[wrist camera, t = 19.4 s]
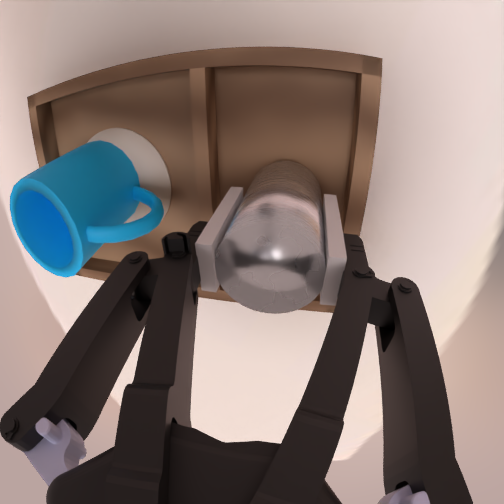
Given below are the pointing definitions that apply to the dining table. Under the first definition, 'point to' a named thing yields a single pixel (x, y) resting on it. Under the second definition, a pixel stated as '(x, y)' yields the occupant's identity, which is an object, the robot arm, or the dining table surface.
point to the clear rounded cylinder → (275, 242)
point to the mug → (80, 206)
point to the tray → (219, 131)
